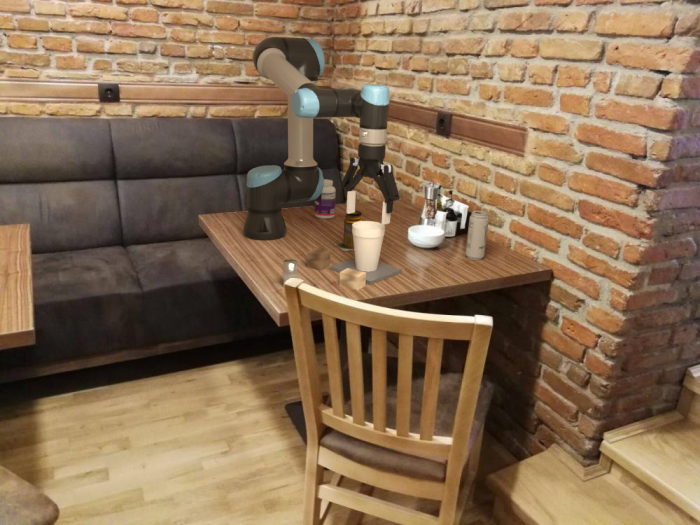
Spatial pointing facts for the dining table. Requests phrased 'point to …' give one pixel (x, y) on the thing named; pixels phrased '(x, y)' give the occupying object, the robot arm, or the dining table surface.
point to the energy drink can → (477, 235)
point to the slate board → (371, 276)
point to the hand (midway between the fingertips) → (367, 218)
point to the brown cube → (318, 258)
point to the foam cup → (367, 244)
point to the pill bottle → (326, 201)
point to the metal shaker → (290, 269)
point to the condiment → (349, 230)
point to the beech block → (352, 279)
